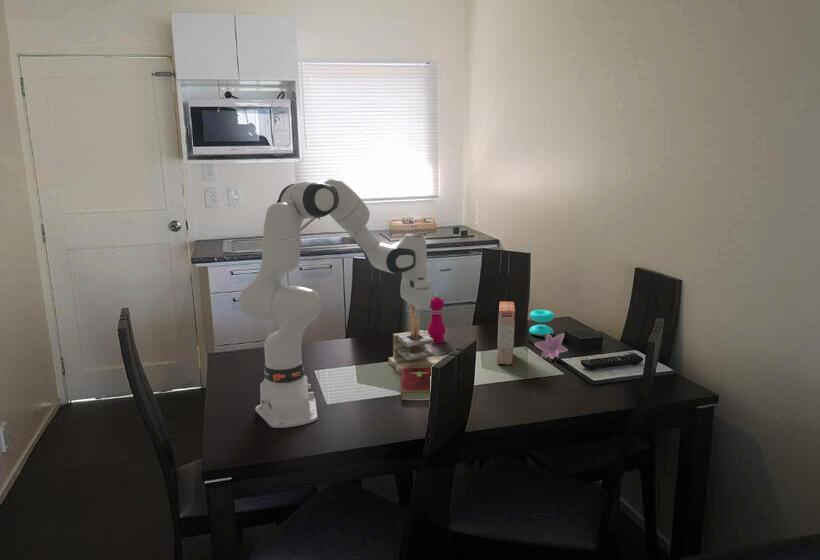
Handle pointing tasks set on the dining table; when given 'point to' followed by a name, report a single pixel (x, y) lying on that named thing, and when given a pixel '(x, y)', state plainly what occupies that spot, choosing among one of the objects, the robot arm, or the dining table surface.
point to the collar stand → (407, 357)
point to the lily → (551, 346)
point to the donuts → (541, 317)
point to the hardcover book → (415, 383)
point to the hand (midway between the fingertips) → (414, 315)
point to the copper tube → (414, 327)
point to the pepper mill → (436, 320)
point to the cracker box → (506, 332)
